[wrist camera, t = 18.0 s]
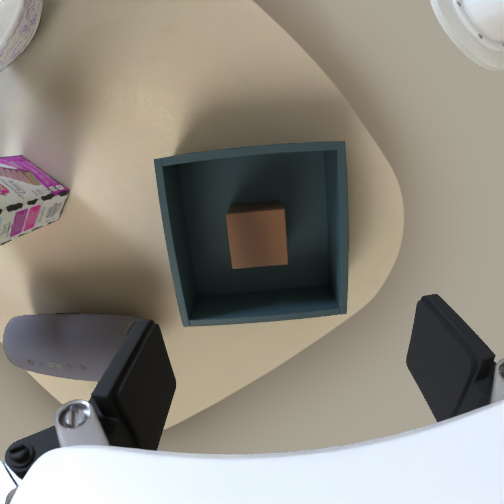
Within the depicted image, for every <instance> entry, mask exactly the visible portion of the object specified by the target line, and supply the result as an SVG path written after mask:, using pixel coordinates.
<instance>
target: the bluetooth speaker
mask: <svg viewBox="0 0 504 504" xmlns="http://www.w3.org/2000/svg"><path fill="white" fill-rule="evenodd" d="M137 320H143V319H142V318H140V317H134V316H125V315H103V314H80V313H55V314H37V315H23V316H18V317H14V318H12V319H10V321H9V322H8V324H7V325H6V328H5V331H4V335H3V347H4V351H5V353H6V356H7V358H8V359H9V360H10V362H11V363H12V364H14V365H15V366H18V367H20V368H22V369H25V370H28V371H32V372H36V373H40V374H45V375H50V376H55V377H61V378H68V379H75V380H86V381H100V379H101V377H102V376H103V374H104V372H105V371H106V369H107V367H108V366H109V364H110V362H111V361H112V359H113V357H114V356H115V354H116V352H117V351H118V349H119V348H120V346H121V344H122V343H123V341H124V340H125V338H126V336H127V335H128V333H129V332H130V330H131V329H132V327H133V325H134V324H135V322H136V321H137Z"/></svg>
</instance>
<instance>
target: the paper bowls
mask: <svg viewBox="0 0 504 504" xmlns="http://www.w3.org/2000/svg"><path fill="white" fill-rule="evenodd" d="M42 8H43V0H0V71H2V70H4V68H6V67H7V66H9V65H10V64H11V63H12V62H13V61H14V60H15V59H16V58H17V57H18V55H20V54H21V53H22V52H23V51H24V49H25V48H26V47H27V46H28V44H29V43H30V42H31V40H32V38H33V37H34V35H35V33H36V30H37V28H38V25H39V21H40V16H41V13H42Z"/></svg>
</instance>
